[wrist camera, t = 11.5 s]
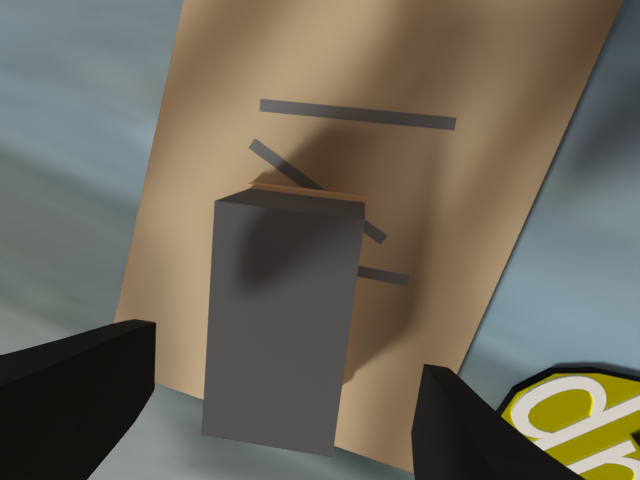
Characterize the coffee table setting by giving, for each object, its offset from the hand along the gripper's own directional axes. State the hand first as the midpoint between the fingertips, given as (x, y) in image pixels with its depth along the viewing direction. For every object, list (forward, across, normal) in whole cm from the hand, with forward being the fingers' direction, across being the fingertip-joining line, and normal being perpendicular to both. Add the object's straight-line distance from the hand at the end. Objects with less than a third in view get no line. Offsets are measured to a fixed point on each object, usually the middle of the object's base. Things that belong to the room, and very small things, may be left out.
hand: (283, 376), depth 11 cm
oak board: (+9, 0, -4) cm, 10 cm away
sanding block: (+8, +1, 0) cm, 8 cm away
